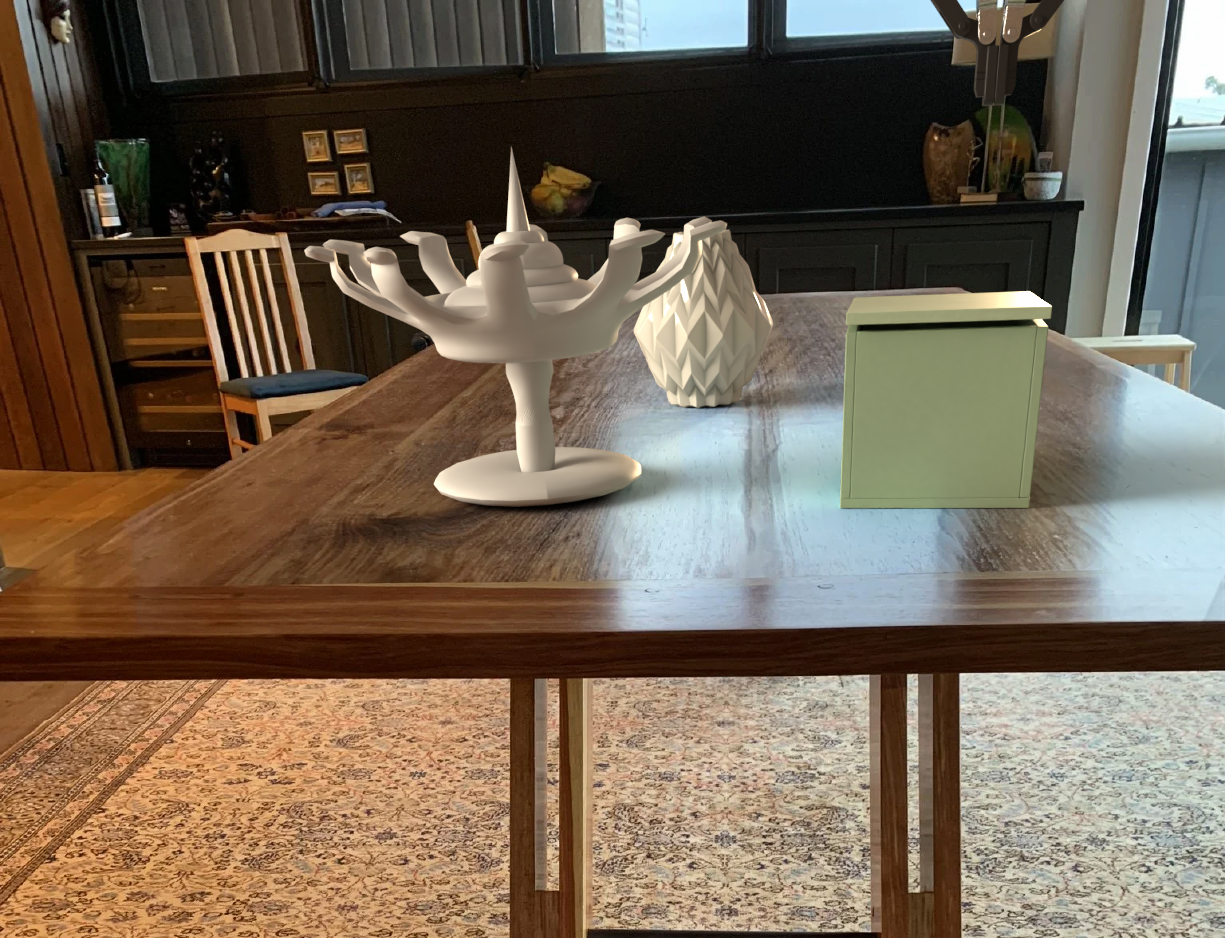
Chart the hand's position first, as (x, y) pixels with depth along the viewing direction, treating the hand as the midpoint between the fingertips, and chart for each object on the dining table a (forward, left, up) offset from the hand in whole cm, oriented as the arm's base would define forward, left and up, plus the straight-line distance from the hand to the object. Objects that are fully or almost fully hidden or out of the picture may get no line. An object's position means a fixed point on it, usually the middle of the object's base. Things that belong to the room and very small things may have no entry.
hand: (992, 105), depth 90 cm
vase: (+50, -10, -28) cm, 58 cm away
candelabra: (+26, +27, -28) cm, 47 cm away
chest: (+2, +2, -28) cm, 28 cm away
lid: (+2, +2, -14) cm, 14 cm away
